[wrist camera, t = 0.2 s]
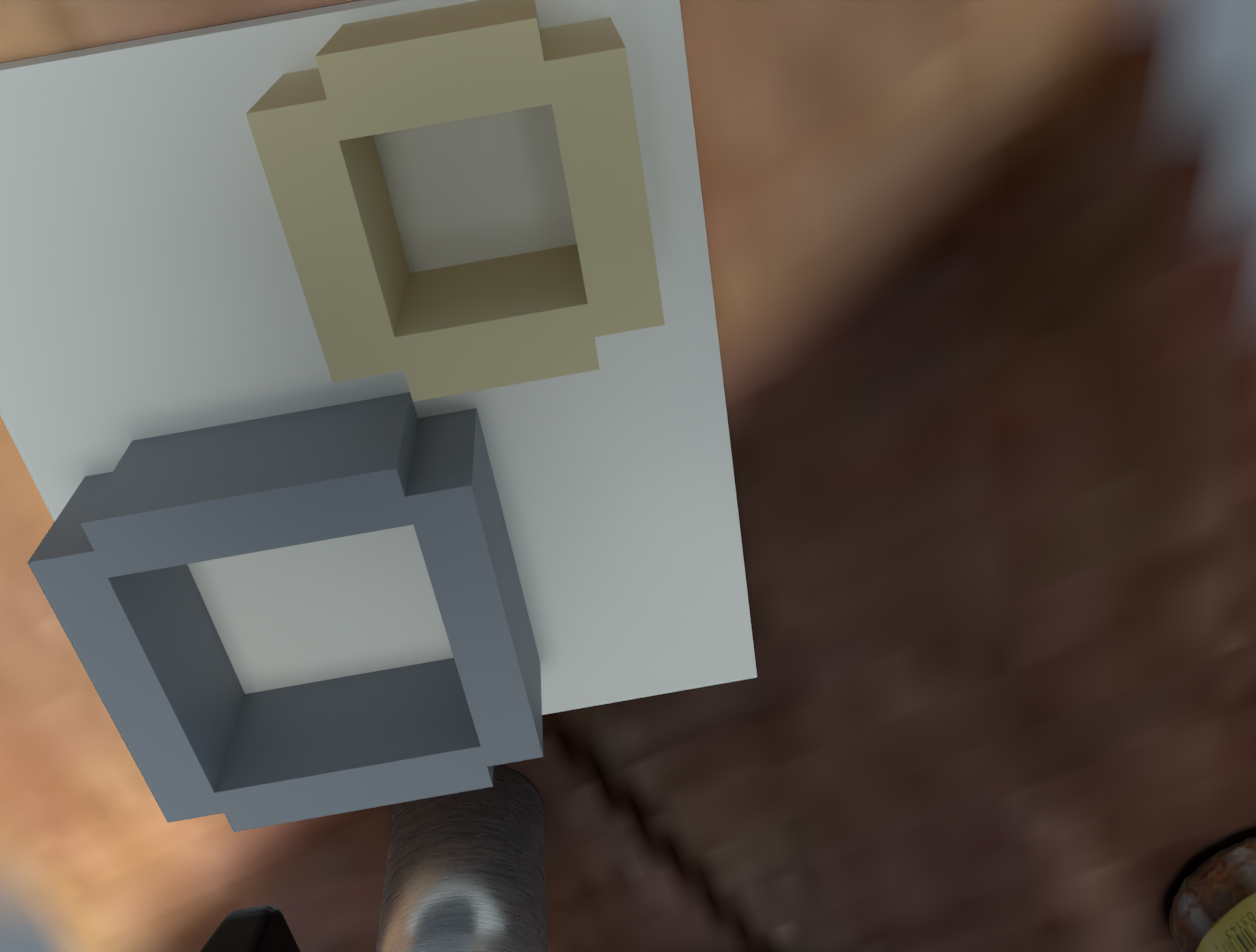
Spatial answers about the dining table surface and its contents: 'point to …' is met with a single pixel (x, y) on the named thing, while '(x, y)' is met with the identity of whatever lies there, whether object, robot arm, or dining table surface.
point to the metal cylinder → (467, 872)
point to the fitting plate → (369, 390)
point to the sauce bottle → (1218, 903)
